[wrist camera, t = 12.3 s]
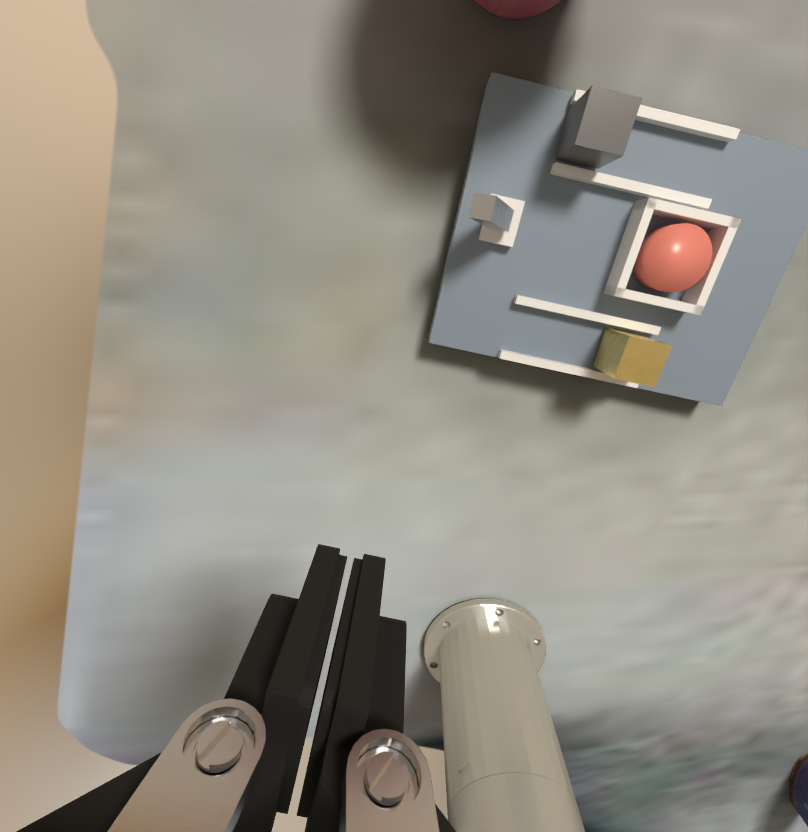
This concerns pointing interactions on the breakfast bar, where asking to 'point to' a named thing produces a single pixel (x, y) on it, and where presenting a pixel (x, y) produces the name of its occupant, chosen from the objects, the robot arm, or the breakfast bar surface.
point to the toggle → (491, 212)
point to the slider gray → (598, 127)
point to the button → (673, 257)
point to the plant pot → (517, 7)
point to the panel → (616, 241)
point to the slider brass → (631, 357)
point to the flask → (800, 787)
